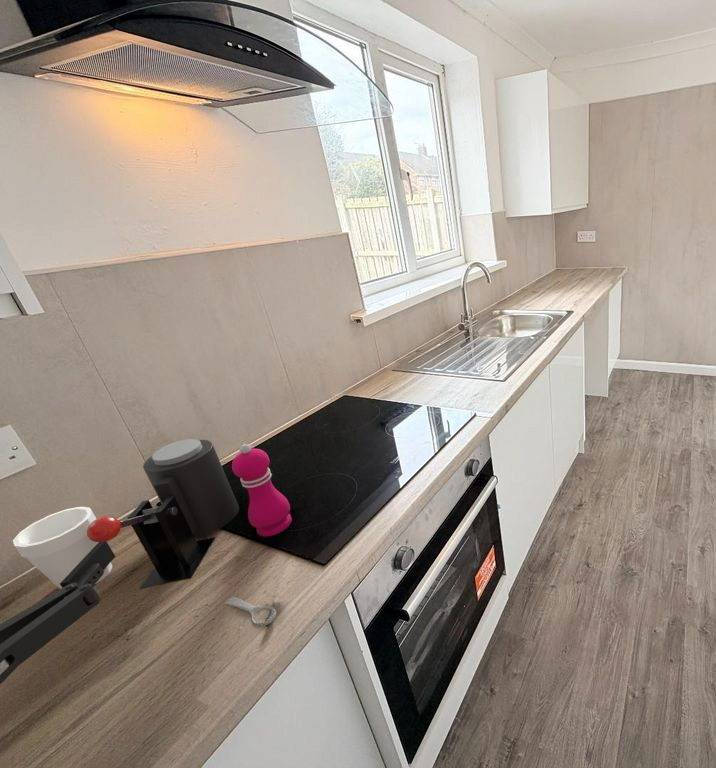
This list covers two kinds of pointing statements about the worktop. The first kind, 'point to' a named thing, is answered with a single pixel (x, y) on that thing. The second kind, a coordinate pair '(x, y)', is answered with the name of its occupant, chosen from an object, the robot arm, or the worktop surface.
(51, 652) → the worktop surface
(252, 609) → the bottle opener
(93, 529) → the red knob lever
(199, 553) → the bracket
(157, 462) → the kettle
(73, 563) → the foam cup
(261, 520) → the pepper mill
